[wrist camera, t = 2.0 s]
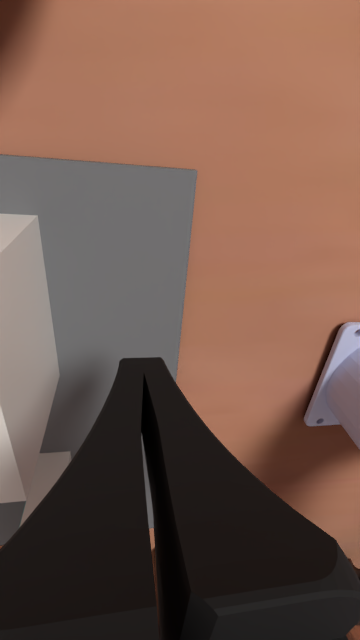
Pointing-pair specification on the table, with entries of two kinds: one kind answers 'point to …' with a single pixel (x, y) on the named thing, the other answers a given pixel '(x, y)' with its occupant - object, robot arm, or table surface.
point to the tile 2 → (44, 478)
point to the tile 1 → (23, 354)
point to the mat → (102, 279)
